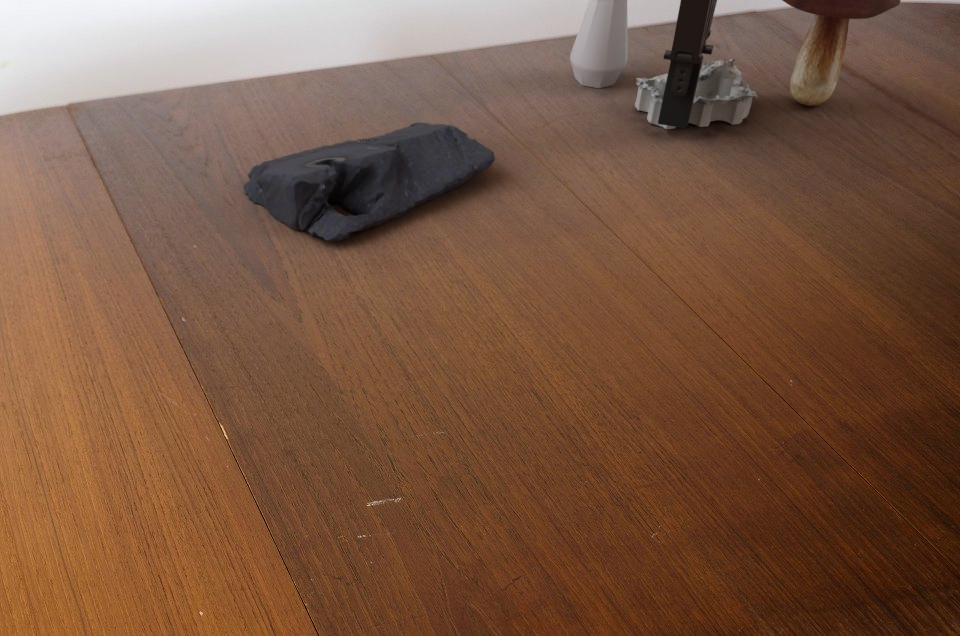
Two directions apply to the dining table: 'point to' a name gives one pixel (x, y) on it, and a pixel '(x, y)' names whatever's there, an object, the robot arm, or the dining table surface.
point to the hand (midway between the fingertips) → (673, 122)
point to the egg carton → (702, 95)
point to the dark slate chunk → (366, 178)
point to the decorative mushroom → (827, 44)
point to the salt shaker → (601, 44)
